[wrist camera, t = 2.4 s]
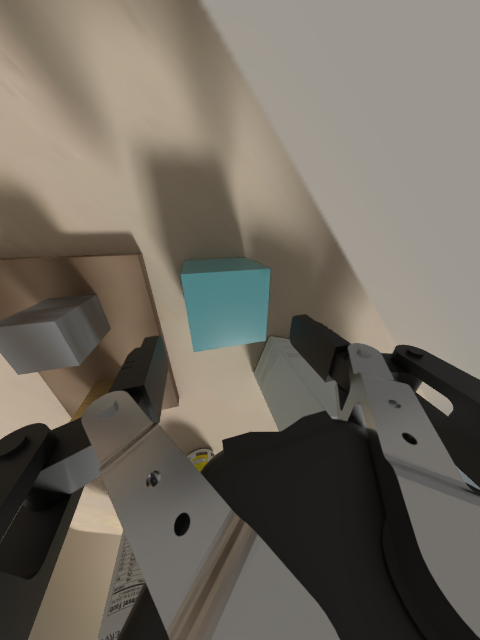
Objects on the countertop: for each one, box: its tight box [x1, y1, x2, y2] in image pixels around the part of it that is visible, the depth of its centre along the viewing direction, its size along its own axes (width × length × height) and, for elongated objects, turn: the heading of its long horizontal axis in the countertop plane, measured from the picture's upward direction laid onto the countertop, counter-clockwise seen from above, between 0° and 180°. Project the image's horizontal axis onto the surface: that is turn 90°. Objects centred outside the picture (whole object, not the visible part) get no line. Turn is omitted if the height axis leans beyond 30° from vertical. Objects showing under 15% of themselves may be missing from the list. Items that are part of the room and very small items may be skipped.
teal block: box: [181, 257, 271, 352], centre depth 16 cm, size 6×6×7 cm
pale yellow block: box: [70, 379, 115, 422], centre depth 18 cm, size 4×4×6 cm
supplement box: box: [254, 336, 337, 432], centre depth 21 cm, size 7×7×13 cm
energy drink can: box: [98, 530, 145, 640], centre depth 29 cm, size 6×6×15 cm
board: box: [0, 253, 179, 418], centre depth 16 cm, size 12×20×7 cm, turn 0°
